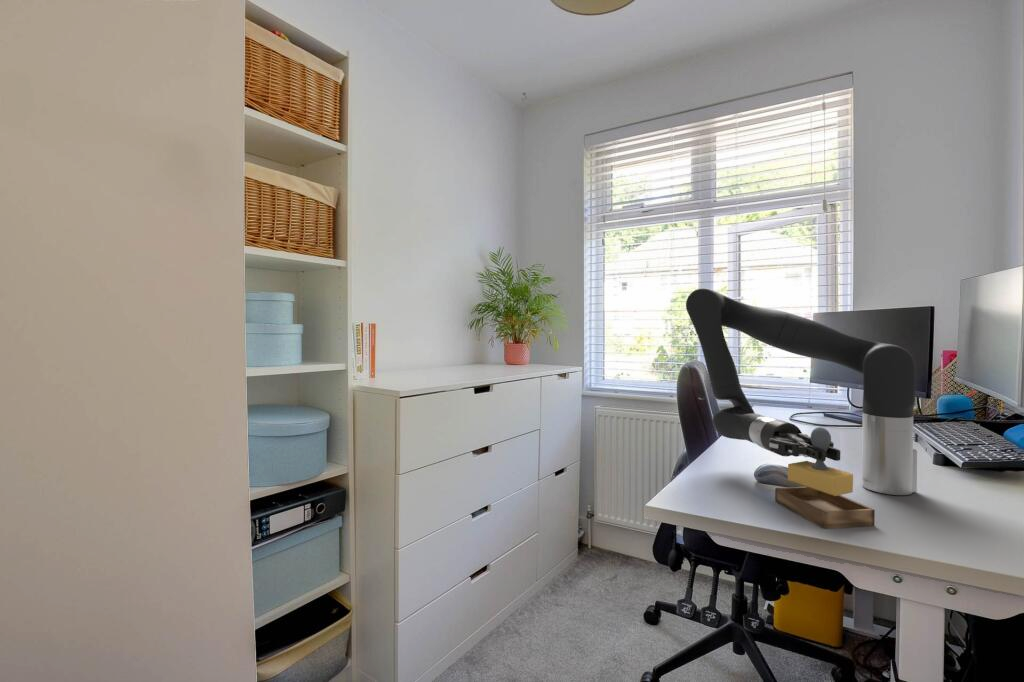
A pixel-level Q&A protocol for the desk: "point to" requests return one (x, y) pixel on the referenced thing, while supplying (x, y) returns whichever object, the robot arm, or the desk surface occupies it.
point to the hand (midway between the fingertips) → (831, 455)
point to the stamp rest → (825, 508)
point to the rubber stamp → (820, 470)
